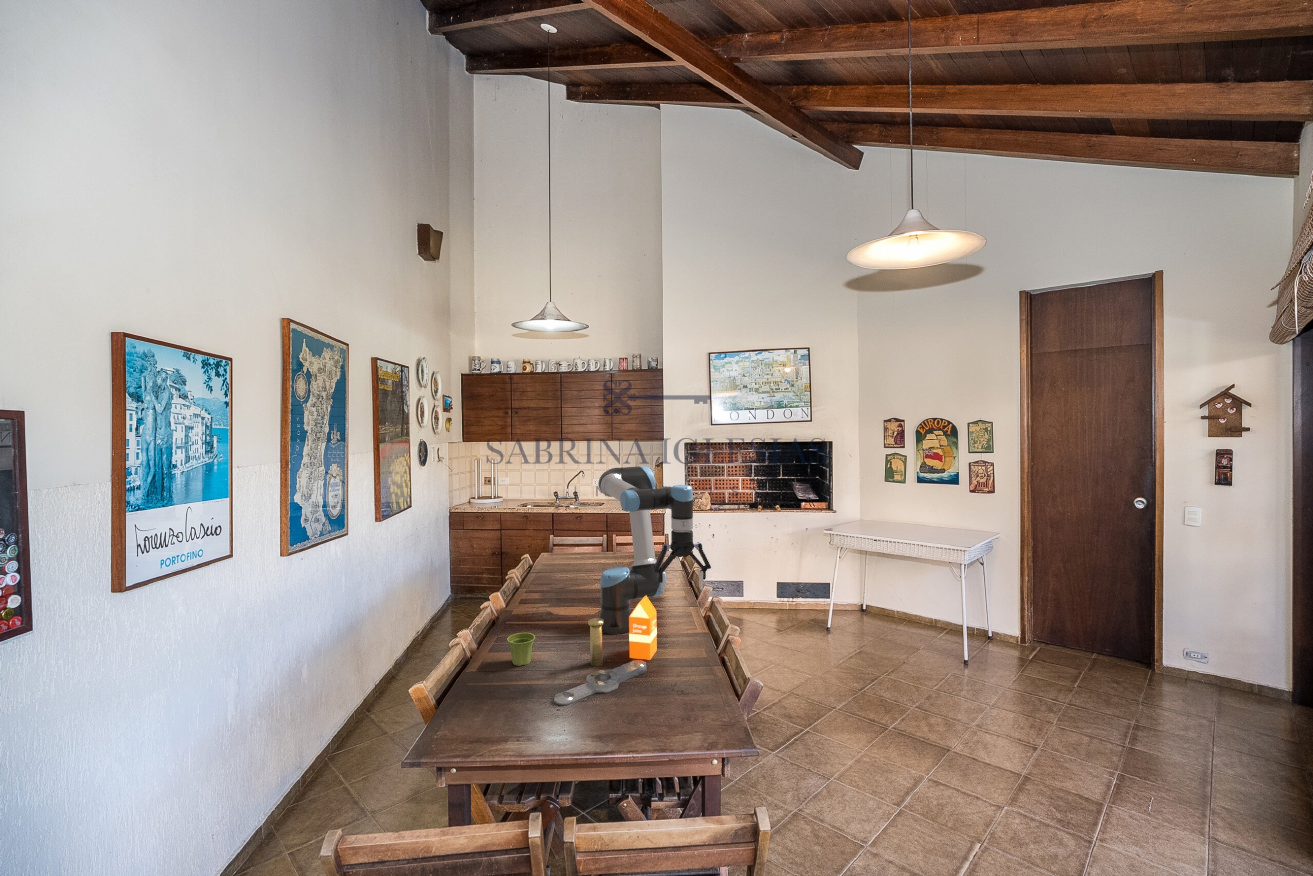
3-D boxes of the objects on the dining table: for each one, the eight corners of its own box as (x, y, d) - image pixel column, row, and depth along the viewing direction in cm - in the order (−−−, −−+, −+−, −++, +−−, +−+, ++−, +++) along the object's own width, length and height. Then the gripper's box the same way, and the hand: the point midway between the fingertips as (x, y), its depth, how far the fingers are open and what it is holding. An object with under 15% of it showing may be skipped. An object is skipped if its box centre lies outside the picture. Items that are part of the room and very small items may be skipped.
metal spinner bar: (565, 710, 171) (565, 702, 171) (546, 698, 178) (546, 690, 178) (654, 672, 194) (654, 665, 194) (634, 663, 202) (634, 656, 202)
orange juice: (657, 650, 213) (656, 595, 212) (650, 660, 205) (649, 603, 204) (636, 648, 215) (635, 594, 214) (629, 657, 207) (628, 601, 206)
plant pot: (540, 658, 207) (540, 634, 206) (526, 669, 198) (525, 644, 197) (517, 655, 210) (516, 631, 209) (502, 666, 201) (501, 641, 200)
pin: (585, 663, 202) (585, 620, 201) (598, 659, 206) (597, 617, 205) (595, 668, 198) (594, 624, 198) (607, 663, 202) (606, 620, 201)
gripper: (648, 534, 198) (649, 596, 199) (719, 530, 203) (719, 591, 204) (644, 529, 205) (645, 589, 207) (713, 526, 210) (713, 584, 212)
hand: (682, 590), depth 206 cm, fingers open, 13 cm apart
